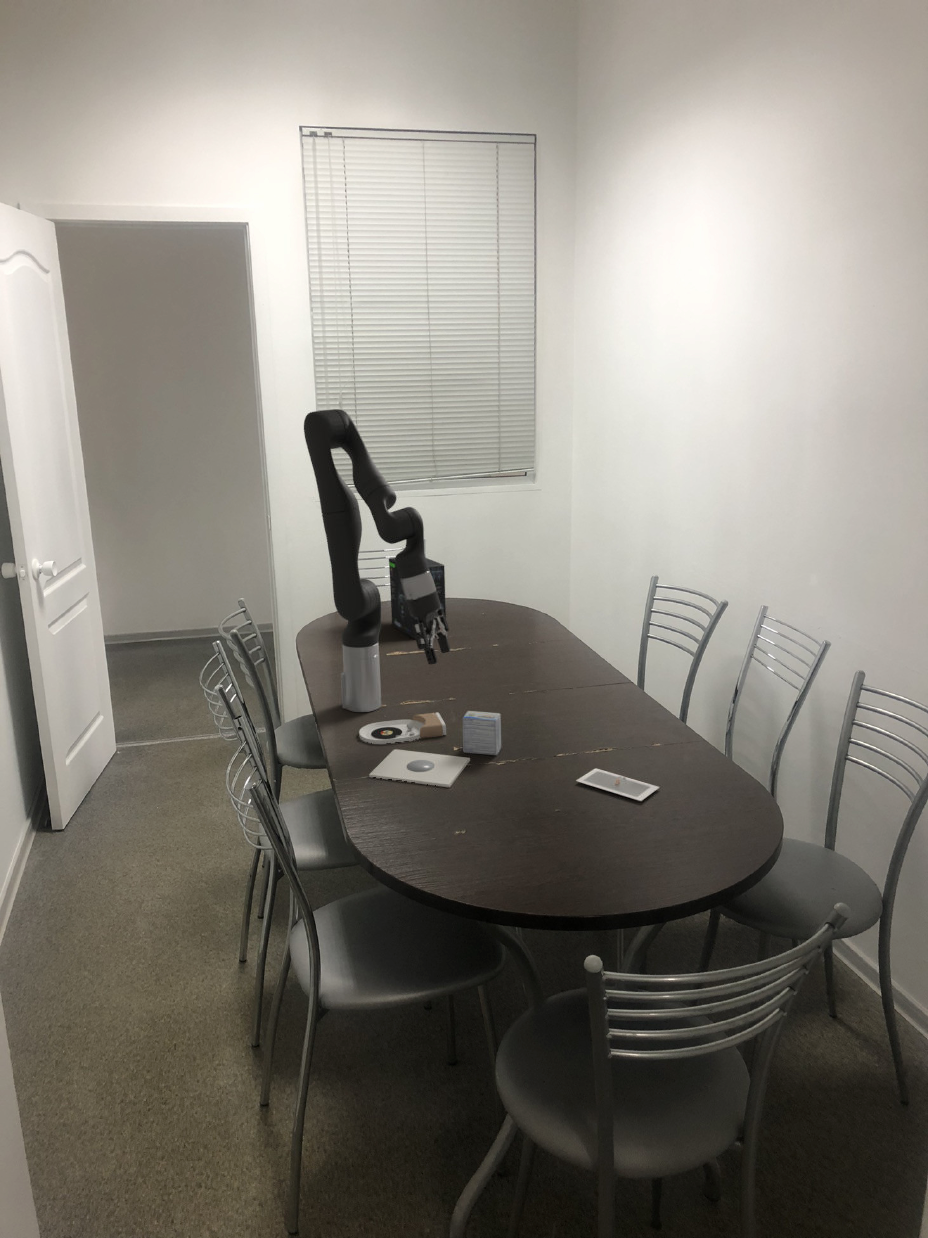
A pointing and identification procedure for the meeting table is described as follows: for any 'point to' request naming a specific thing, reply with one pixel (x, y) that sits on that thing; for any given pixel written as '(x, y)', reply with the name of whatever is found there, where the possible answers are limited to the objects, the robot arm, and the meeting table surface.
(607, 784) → the touchpad
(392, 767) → the white pad
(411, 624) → the headset box
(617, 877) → the meeting table surface
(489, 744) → the medicine box
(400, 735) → the record player
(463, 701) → the meeting table surface
